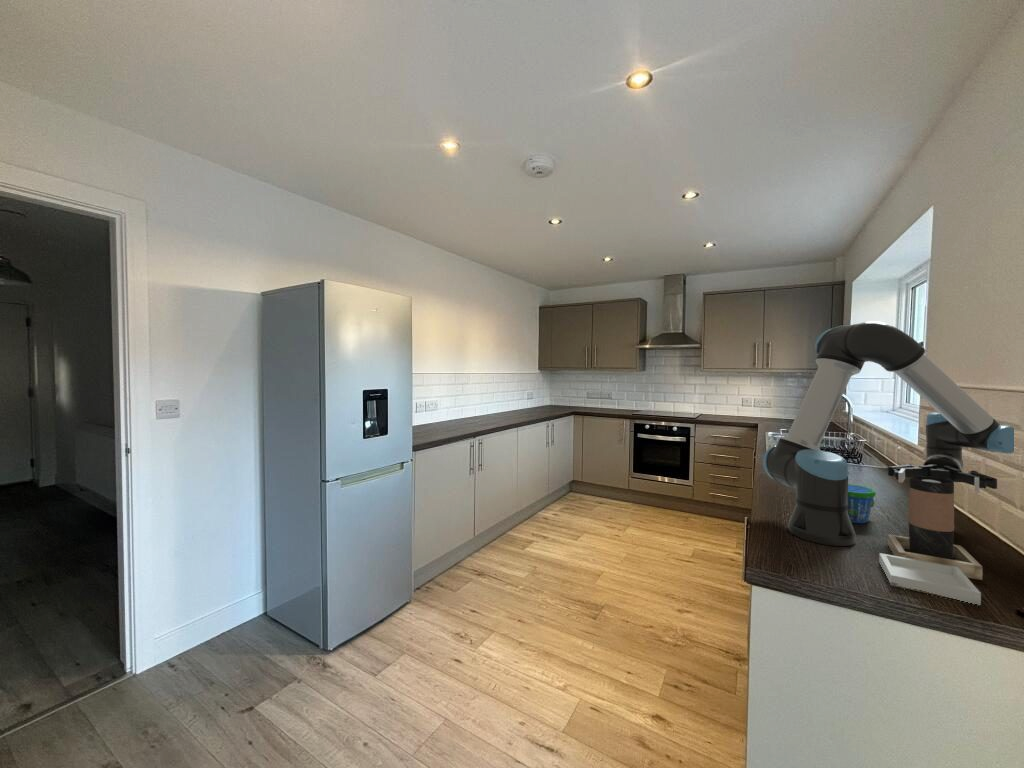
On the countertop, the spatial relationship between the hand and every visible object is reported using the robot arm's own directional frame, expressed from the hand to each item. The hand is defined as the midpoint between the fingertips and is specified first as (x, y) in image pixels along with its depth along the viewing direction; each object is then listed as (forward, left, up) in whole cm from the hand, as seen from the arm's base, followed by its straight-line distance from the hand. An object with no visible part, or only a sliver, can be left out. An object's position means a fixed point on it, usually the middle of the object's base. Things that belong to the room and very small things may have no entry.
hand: (936, 482), depth 104 cm
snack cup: (-15, +16, -18) cm, 29 cm away
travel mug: (-3, -10, -18) cm, 21 cm away
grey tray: (-7, -25, -18) cm, 31 cm away
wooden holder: (-3, -10, -18) cm, 20 cm away
